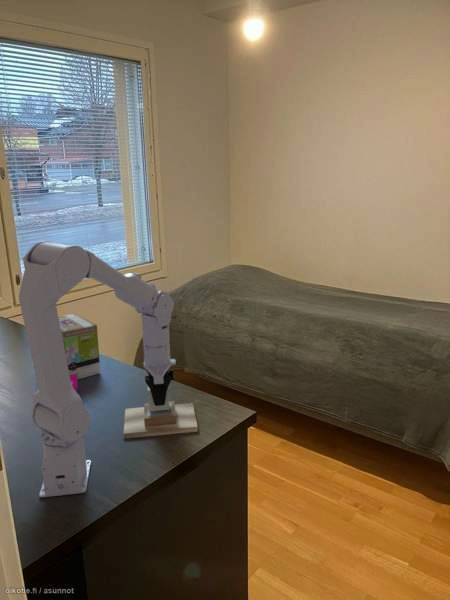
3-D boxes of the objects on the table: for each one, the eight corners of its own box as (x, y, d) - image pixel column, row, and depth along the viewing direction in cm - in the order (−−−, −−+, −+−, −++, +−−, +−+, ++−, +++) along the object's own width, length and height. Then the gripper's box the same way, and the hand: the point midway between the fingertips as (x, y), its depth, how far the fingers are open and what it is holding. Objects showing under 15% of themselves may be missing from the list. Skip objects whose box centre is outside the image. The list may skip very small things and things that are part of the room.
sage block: (169, 409, 105) (168, 389, 103) (148, 411, 104) (147, 390, 103) (168, 400, 109) (167, 380, 108) (148, 401, 108) (147, 381, 107)
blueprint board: (197, 431, 104) (197, 418, 103) (123, 438, 101) (122, 424, 100) (192, 407, 114) (192, 395, 113) (125, 413, 112) (124, 400, 111)
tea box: (102, 373, 133) (97, 324, 129) (67, 383, 127) (62, 332, 123) (80, 357, 145) (75, 311, 141) (47, 366, 138) (42, 318, 134)
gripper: (177, 354, 96) (179, 413, 100) (172, 331, 110) (174, 384, 114) (142, 356, 95) (145, 416, 99) (142, 332, 109) (145, 386, 112)
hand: (159, 399), depth 106 cm, fingers closed on sage block, 4 cm apart
